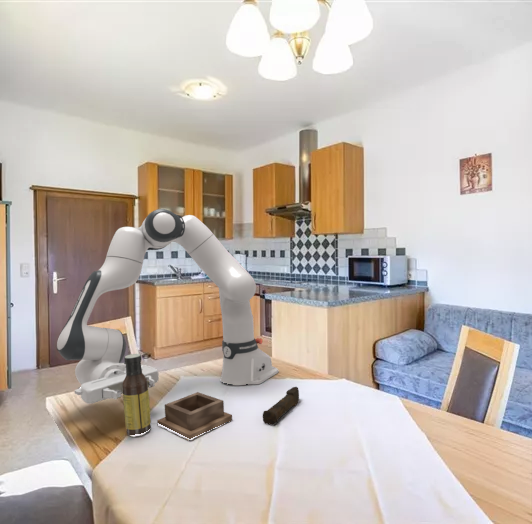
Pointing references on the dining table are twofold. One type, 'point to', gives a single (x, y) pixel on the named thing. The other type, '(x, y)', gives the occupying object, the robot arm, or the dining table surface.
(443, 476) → the dining table surface
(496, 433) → the dining table surface
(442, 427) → the dining table surface
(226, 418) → the socket holder
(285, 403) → the hand tool
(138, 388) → the sauce bottle
